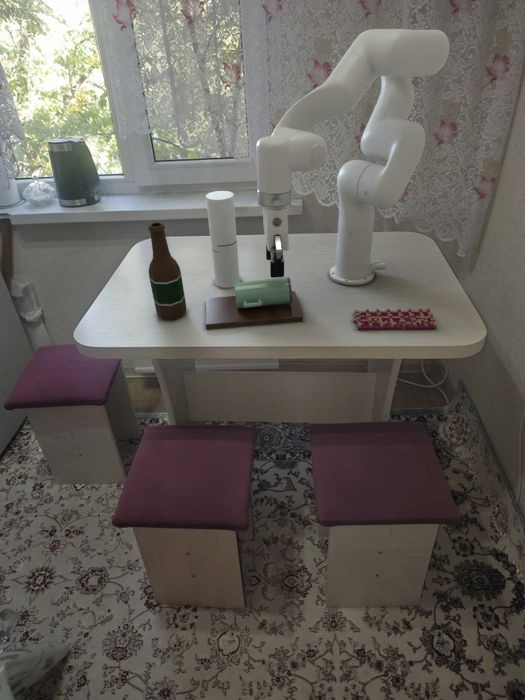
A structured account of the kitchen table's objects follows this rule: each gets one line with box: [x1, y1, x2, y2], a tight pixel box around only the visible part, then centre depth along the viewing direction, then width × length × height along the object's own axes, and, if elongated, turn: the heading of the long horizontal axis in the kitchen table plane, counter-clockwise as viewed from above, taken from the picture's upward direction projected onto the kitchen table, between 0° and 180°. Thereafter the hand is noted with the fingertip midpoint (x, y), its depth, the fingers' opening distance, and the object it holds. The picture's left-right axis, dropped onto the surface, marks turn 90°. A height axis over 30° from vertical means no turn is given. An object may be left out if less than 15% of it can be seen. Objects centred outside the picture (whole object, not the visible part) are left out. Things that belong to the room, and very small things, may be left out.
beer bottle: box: [147, 222, 187, 321], centre depth 111 cm, size 8×8×24 cm
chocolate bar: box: [352, 307, 437, 331], centre depth 111 cm, size 7×19×2 cm, turn 88°
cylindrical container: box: [205, 190, 241, 289], centre depth 124 cm, size 7×7×25 cm
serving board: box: [205, 290, 304, 330], centre depth 117 cm, size 24×13×2 cm, turn 95°
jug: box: [233, 276, 293, 309], centre depth 114 cm, size 7×9×14 cm
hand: (274, 267), depth 111 cm, fingers open, 9 cm apart
